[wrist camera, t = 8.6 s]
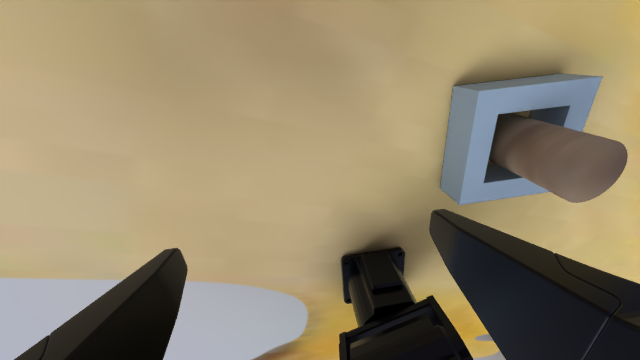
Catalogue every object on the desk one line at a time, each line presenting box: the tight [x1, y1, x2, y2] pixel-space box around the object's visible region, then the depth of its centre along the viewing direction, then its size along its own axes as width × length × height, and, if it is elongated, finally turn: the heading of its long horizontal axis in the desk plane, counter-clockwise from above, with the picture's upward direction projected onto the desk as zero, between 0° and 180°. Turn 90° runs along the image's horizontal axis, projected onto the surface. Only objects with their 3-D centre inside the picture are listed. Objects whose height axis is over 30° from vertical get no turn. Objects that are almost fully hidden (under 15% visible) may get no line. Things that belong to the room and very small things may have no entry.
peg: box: [489, 113, 627, 203], centre depth 19 cm, size 4×4×8 cm
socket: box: [440, 74, 602, 205], centre depth 21 cm, size 9×9×3 cm
